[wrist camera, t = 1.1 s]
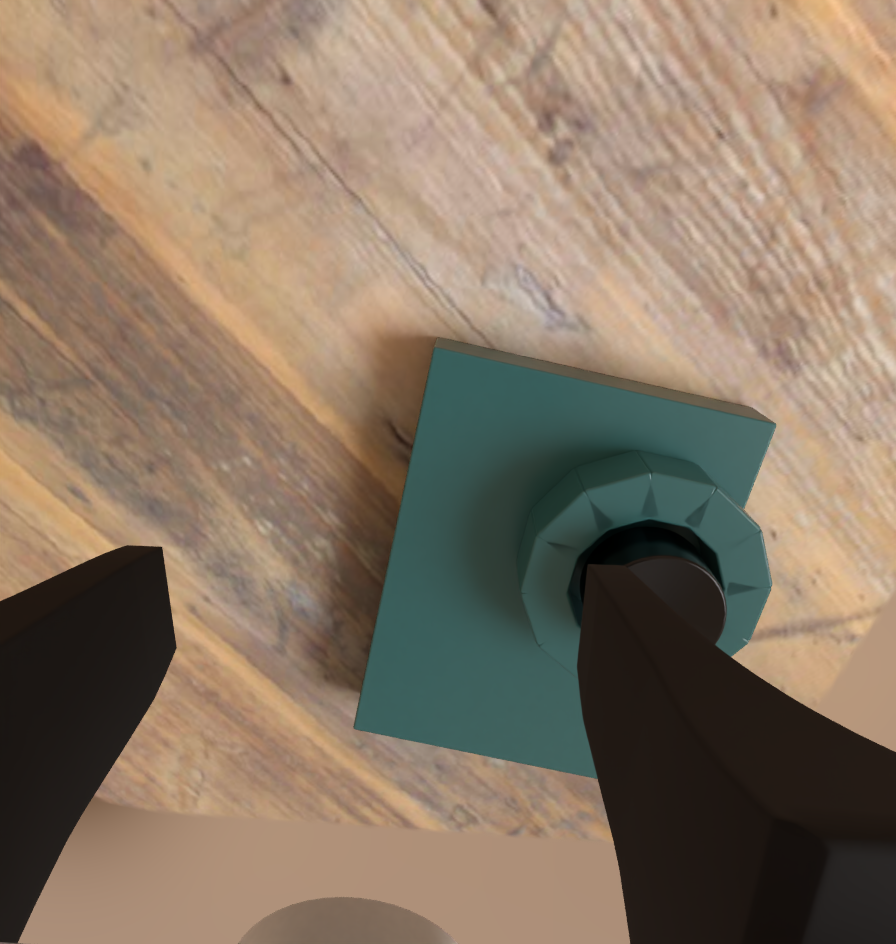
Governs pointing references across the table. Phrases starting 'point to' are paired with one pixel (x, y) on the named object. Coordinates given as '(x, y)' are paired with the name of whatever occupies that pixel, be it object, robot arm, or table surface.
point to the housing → (542, 543)
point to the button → (667, 574)
